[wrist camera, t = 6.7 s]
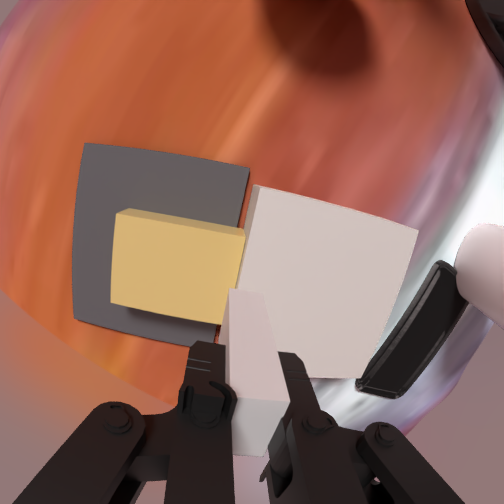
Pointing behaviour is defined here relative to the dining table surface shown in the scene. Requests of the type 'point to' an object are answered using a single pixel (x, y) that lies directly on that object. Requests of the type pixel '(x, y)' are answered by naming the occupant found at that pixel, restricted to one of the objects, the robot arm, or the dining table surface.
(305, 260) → the white stand
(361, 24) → the dining table surface
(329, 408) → the dining table surface
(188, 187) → the dark grey mat
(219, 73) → the dining table surface
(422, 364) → the phone
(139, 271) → the ochre tile
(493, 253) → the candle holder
